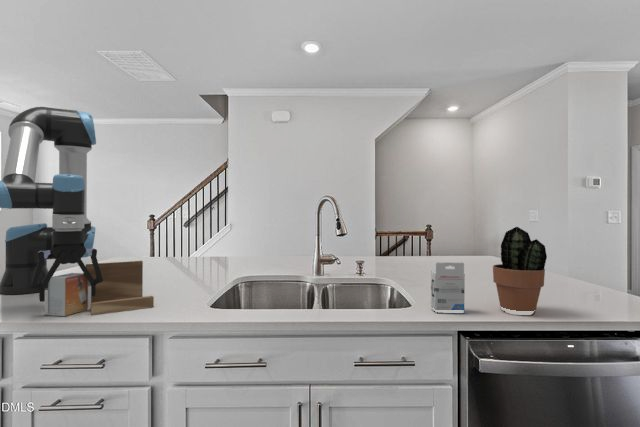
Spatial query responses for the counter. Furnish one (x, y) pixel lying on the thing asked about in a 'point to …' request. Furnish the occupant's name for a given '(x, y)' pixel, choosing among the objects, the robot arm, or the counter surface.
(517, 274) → the potted plant
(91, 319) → the counter surface
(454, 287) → the ink box
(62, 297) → the small box
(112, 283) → the board
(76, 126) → the robot arm
